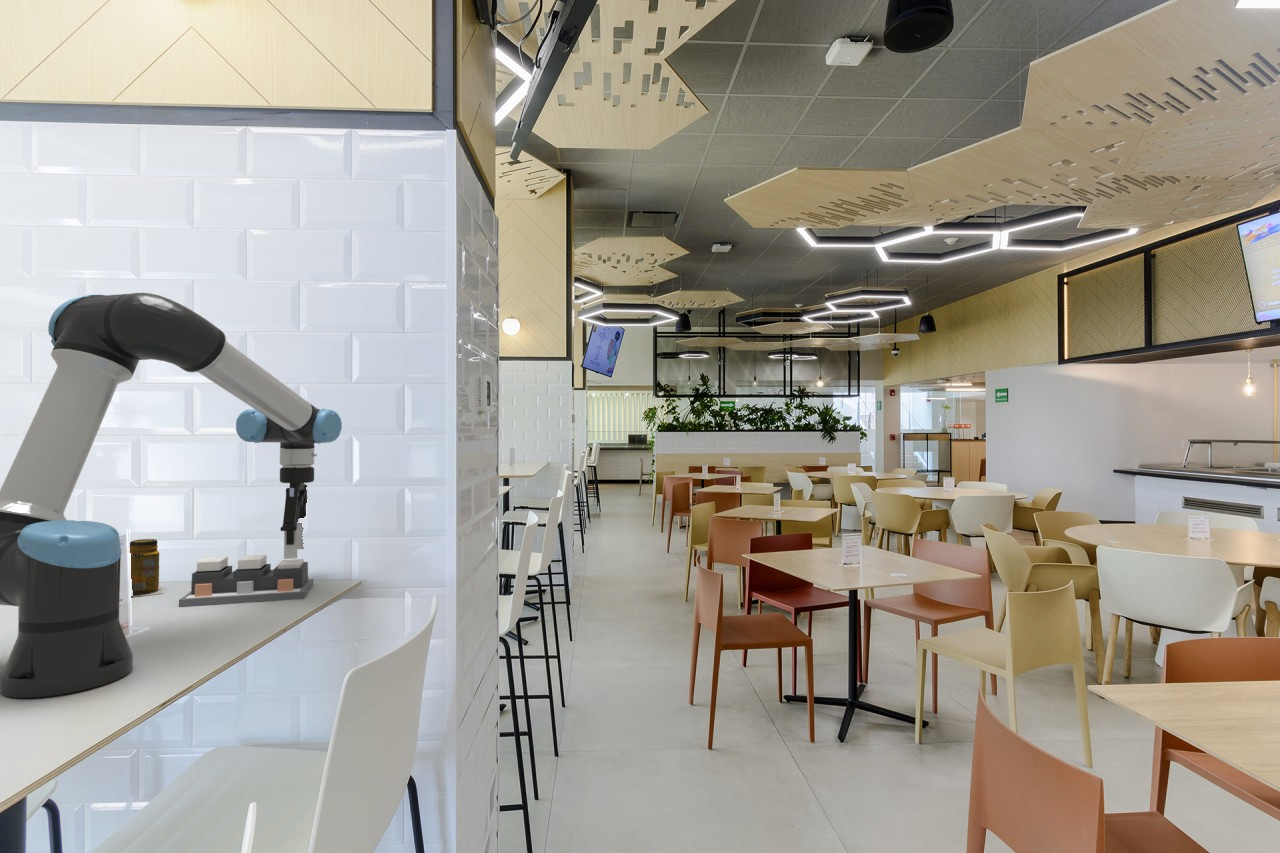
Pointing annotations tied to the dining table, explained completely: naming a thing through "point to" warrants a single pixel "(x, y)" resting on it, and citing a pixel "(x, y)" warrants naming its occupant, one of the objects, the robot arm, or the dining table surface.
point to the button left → (212, 563)
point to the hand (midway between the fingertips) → (295, 553)
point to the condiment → (145, 567)
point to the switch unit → (247, 585)
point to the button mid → (252, 562)
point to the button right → (291, 564)
